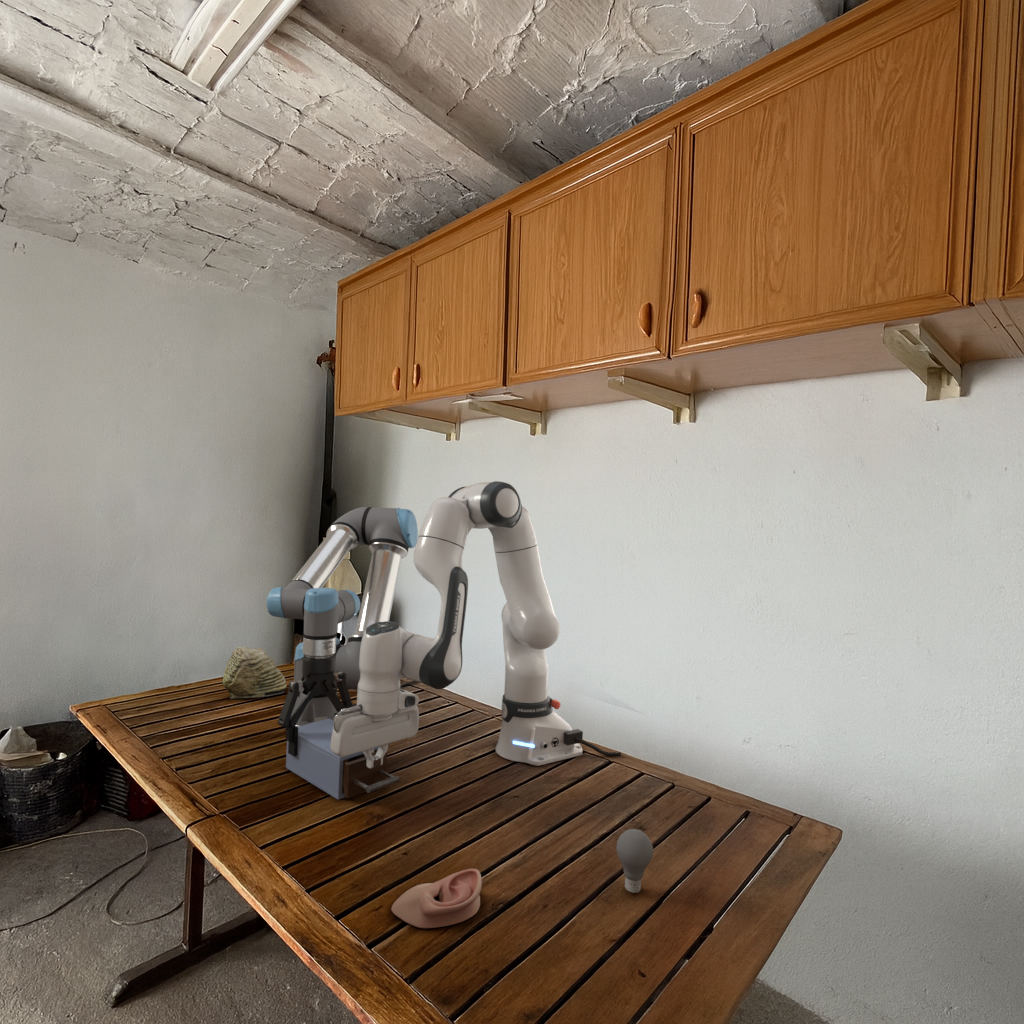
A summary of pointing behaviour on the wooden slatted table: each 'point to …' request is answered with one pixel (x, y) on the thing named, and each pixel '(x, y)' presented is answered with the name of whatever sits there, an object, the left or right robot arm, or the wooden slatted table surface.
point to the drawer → (364, 776)
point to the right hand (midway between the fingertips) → (374, 766)
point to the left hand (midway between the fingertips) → (315, 747)
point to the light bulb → (634, 857)
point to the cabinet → (318, 758)
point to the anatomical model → (441, 901)
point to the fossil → (252, 674)
